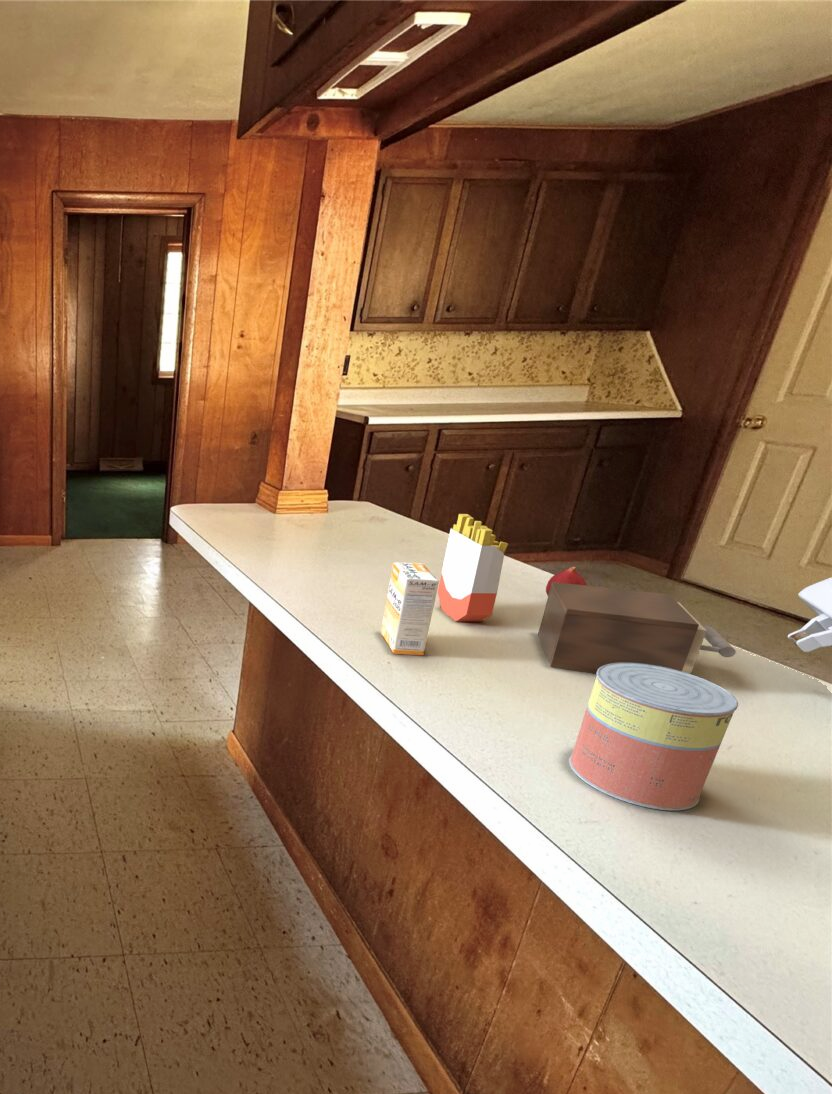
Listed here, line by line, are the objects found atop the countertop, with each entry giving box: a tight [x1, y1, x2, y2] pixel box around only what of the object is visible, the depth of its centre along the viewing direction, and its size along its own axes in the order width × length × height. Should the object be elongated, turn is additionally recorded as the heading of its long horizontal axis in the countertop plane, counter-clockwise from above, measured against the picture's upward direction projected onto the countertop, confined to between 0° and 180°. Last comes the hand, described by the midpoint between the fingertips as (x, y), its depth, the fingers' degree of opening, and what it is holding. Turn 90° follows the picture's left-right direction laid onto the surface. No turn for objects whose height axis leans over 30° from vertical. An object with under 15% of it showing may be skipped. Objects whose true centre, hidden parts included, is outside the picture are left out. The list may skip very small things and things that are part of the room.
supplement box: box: [380, 561, 440, 656], centre depth 107 cm, size 8×5×13 cm, turn 167°
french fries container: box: [437, 513, 509, 623], centre depth 116 cm, size 5×11×18 cm, turn 174°
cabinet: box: [537, 582, 699, 675], centre depth 101 cm, size 15×13×10 cm
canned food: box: [568, 663, 739, 812], centre depth 73 cm, size 11×11×12 cm
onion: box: [545, 566, 588, 597], centre depth 120 cm, size 6×6×8 cm
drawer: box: [676, 601, 737, 674], centre depth 99 cm, size 18×11×8 cm, turn 62°
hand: (795, 644), depth 91 cm, fingers closed
